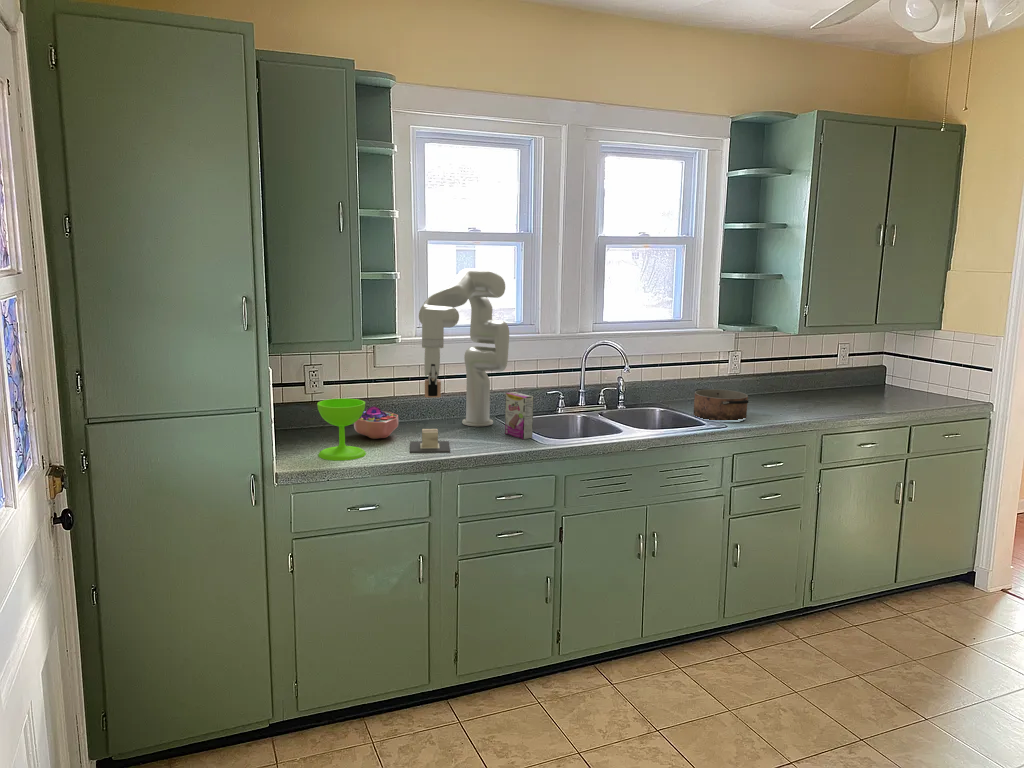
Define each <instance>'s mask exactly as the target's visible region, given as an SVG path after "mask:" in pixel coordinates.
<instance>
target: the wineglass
mask: <svg viewBox="0 0 1024 768" xmlns="http://www.w3.org/2000/svg"><path fill="white" fill-rule="evenodd" d="M316 407H317V410H318V412H319V414H320V415H319V416H320V417H321V418H322V419H323V420H324V422H327V423H328V424H330V425H332V426H335V427H338V437H339V438H338V439H339V440H338V445H337V446H330V447H326V448H324V449H322V450H320V451H319V453H318V457H319V459H323V460H326V461H334V462H335V461H336V462H341V461H352V460H358V459H361V458H364V457H365V456H366V454H367V453H366V451H365V449H363V448H361V447H358V446H354V445H353V446H351V445H346V430H345V429H346V428H345V427H348V426H350V425H354V422H356V421H357V420H358V419H359V418H360V417H361V416H362V414H363V412H365V408H366V401H365V400H362V399H357V398H348V397H346V398H343V397H342V398H341V397H340V398H329V399H324V400H320V401H318V402H317V403H316Z"/></svg>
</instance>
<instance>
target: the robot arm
mask: <svg viewBox="0 0 1024 768" xmlns="http://www.w3.org/2000/svg"><path fill="white" fill-rule="evenodd" d="M505 290H506V282H505V280H504V278H503V276H501V275H500V274H497V272H494V271H493V270H490V269H488V268H464V269H463V268H462V270H460V271H459V272H458V274H457V275H456V276H455V278H454V280H452V282H451V283H450V285H449V286H448V287H446V288H444V289H442V290H439V291H438V292H436V293H433V294H432V295H429V297H428V298H427V299H426V300H425V301H424V302H423V304H422V305H421V307H420V310H419V312H418V320H419V322H420V324H421V348H422V349H424V377H427V376H428V378H427V379H429V385H428V396H437V379H438V376H439V375H440V366H441V365H440V364H441V349H443V348H444V347H445V346H444V345H445V344H444V342H445V341H444V337H445V336H444V334H445V329H444V328H450V329H451V328H453V327H455V326H456V325H457V324H458V322H459V321H460V314H459V311H458V309H456V308H458V307H461V306H463V305H465V304H466V303H467V302H468V301H469V303H470V304H469V305H470V308H471V309H470V310H471V311H470V325H469V326H470V328H469V329H470V330H469V337H470V340H471V341H472V342H473V343H476V344H486V345H487V344H488V345H490V344H491V345H494V347H491V346H490V347H489V346H479V345H478V346H470V347H469V348H467V349H466V350H465V351H464V354H463V355H464V358H463V359H464V366H465V372H466V375H465V376H466V393H465V394H466V398H465V399H466V400H465V401H466V403H465V404H466V405H465V406H466V407H465V413H466V414H465V418H464V419H462V422H461V423H462V424H463V425H465V426H468V427H476V428H477V427H487V426H492V425H493V424H494V420H493V419H491V418H490V407H491V406H490V405H491V402H490V401H491V400H490V399H491V398H490V397H491V392H490V391H491V380H490V377H489V376H488V373H487V372H498V373H499V372H504V371H505V370H506V369H507V365H508V360H509V349H510V348H509V347H510V328H509V325H508V323H506V322H505V321H503V320H498V319H497V320H493V306H492V303H491V301H490V300H489V299H488V298H491V299H493V298H495V299H497V298H498V299H499V298H501V297H502V296H503V295H504V294H505Z"/></svg>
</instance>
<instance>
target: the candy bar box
mask: <svg viewBox="0 0 1024 768" xmlns="http://www.w3.org/2000/svg"><path fill="white" fill-rule="evenodd" d="M504 411H505V412H504V421H505V422H504V424H505V425H504V434H505V435H507V436H511V437H514V438H517V439H520V440H528V439H529V440H530V439H532V438H533V432H534V431H533V429H534V428H533V425H534V396H533V395H528V394H525V393H521V392H517V391H510V392H505V410H504Z"/></svg>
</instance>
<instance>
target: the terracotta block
mask: <svg viewBox="0 0 1024 768" xmlns="http://www.w3.org/2000/svg"><path fill="white" fill-rule="evenodd" d="M441 383H442V381H441V379H439V378H437V396H428V385H429V379H428V378H427V379H426V378H425V379H424V398H442V395H441V394H442V387H441V386H442V384H441Z"/></svg>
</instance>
